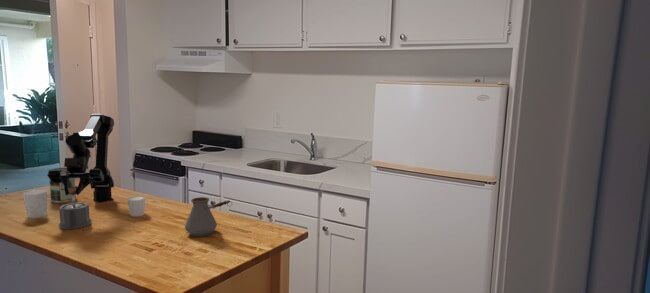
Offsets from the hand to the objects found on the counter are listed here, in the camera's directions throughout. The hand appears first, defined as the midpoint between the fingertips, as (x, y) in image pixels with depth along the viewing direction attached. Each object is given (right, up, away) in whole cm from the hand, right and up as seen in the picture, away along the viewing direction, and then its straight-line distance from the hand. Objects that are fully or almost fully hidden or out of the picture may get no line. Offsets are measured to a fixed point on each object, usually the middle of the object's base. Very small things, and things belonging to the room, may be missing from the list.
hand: (71, 194), depth 167 cm
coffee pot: (+54, -15, -6) cm, 56 cm away
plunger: (0, -5, +2) cm, 6 cm away
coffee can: (-25, -6, +37) cm, 45 cm away
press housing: (0, -12, +3) cm, 12 cm away
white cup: (-22, -10, +13) cm, 27 cm away
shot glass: (+18, -10, +17) cm, 27 cm away
